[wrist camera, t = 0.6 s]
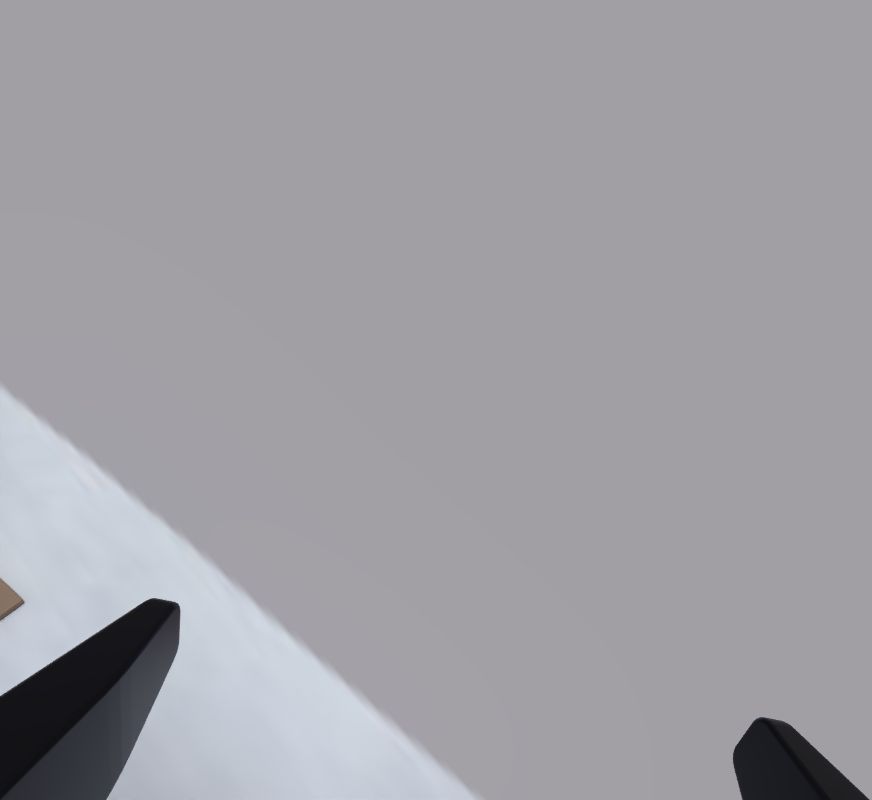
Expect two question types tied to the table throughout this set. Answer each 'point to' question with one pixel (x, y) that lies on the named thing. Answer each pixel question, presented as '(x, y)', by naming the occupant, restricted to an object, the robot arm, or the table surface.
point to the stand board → (8, 599)
